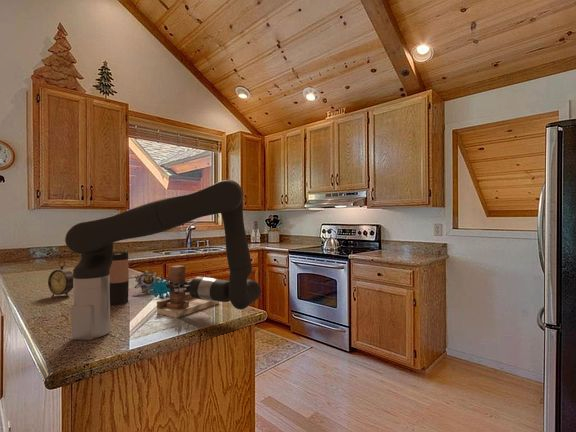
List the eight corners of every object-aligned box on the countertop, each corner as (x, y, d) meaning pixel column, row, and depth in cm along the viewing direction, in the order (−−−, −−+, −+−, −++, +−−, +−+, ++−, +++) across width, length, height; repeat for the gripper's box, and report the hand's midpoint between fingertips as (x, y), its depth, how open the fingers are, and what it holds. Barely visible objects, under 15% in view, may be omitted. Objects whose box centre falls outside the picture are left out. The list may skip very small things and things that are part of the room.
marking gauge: (178, 309, 111) (178, 268, 111) (166, 307, 114) (166, 266, 114) (190, 305, 116) (190, 265, 116) (179, 303, 119) (178, 264, 119)
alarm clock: (47, 296, 140) (46, 260, 140) (59, 293, 146) (58, 258, 146) (66, 298, 137) (65, 260, 137) (77, 295, 142) (77, 259, 142)
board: (176, 318, 109) (176, 305, 109) (157, 313, 114) (156, 301, 114) (218, 303, 127) (218, 292, 127) (200, 300, 132) (200, 289, 132)
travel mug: (103, 303, 128) (102, 253, 128) (121, 299, 135) (120, 251, 135) (115, 306, 124) (114, 254, 124) (133, 301, 131) (132, 252, 131)
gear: (149, 296, 133) (150, 276, 139) (147, 304, 136) (148, 284, 143) (176, 296, 137) (177, 277, 144) (174, 304, 141) (174, 285, 148)
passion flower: (148, 305, 145) (133, 286, 139) (141, 296, 153) (126, 278, 147) (169, 288, 150) (156, 270, 144) (161, 280, 158) (148, 263, 152)
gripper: (220, 274, 115) (187, 270, 123) (190, 281, 102) (155, 276, 111) (221, 295, 115) (187, 290, 123) (191, 304, 102) (155, 298, 111)
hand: (172, 283), depth 117 cm, fingers closed on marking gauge, 3 cm apart
